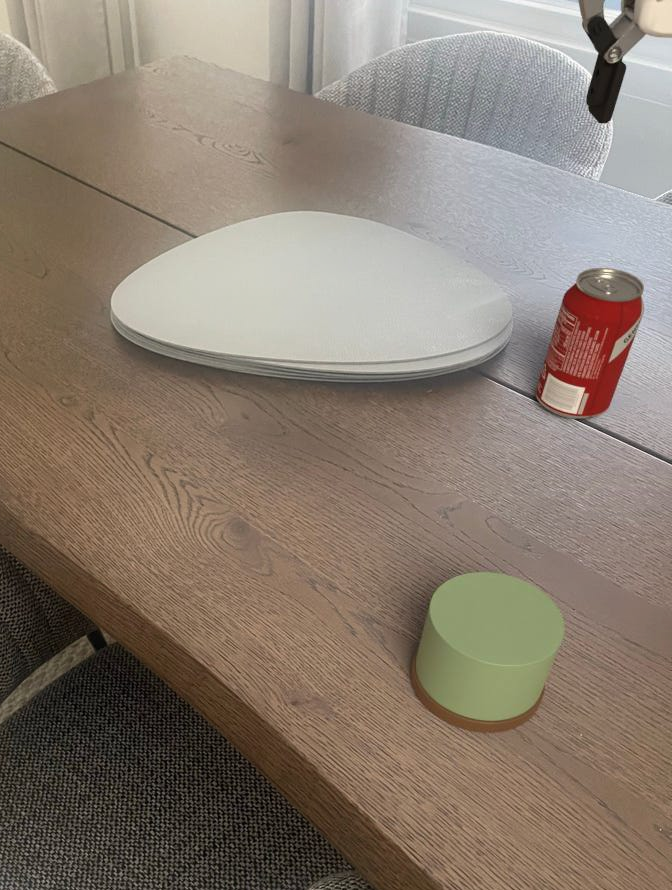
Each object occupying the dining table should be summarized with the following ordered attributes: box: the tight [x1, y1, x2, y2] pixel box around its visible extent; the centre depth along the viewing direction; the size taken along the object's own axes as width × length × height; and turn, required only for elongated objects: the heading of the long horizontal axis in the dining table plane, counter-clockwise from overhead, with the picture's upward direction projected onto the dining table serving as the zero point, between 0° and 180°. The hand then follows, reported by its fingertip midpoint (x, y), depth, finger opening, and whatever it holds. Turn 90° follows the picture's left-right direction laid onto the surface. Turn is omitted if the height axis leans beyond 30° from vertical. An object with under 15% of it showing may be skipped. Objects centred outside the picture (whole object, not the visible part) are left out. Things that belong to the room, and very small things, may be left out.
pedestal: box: [409, 571, 566, 733], centre depth 65 cm, size 9×9×6 cm
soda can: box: [535, 267, 646, 420], centre depth 87 cm, size 7×7×12 cm
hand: (661, 116), depth 73 cm, fingers open, 9 cm apart
